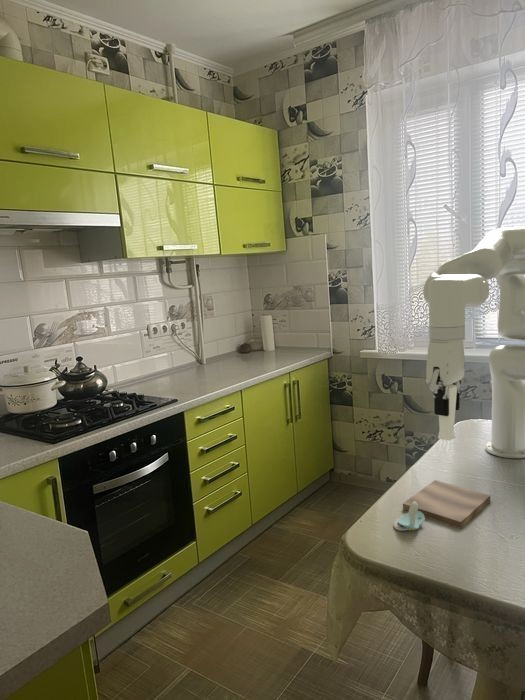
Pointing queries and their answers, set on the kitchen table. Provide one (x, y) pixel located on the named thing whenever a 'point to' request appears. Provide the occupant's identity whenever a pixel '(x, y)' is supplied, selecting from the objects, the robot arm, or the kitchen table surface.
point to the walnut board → (448, 503)
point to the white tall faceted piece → (448, 421)
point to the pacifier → (410, 519)
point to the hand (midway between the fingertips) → (447, 411)
